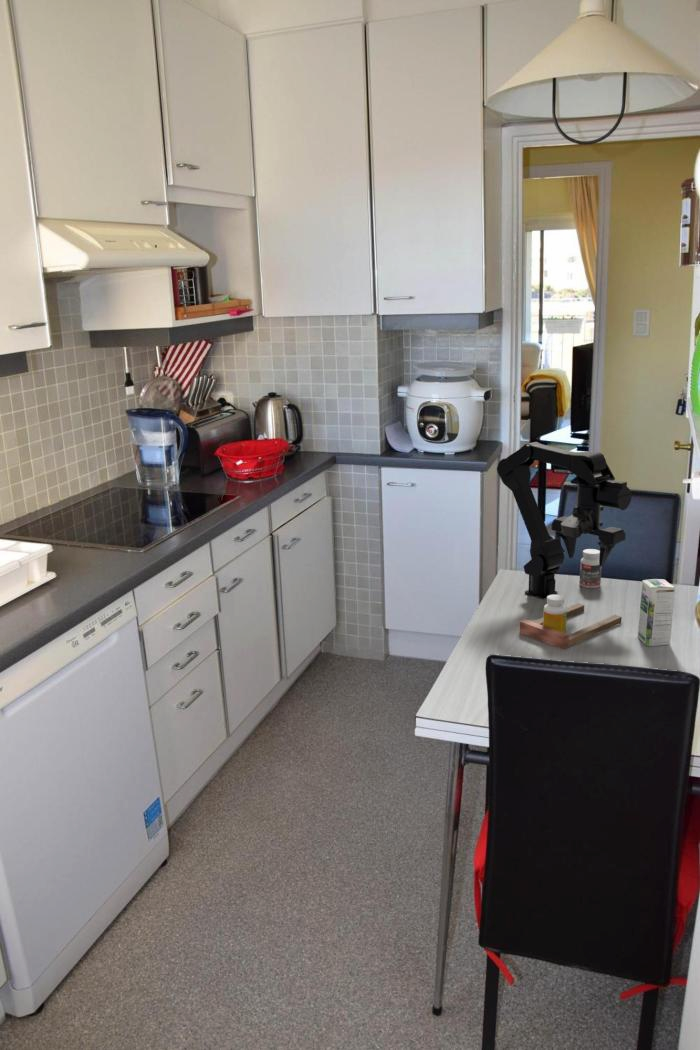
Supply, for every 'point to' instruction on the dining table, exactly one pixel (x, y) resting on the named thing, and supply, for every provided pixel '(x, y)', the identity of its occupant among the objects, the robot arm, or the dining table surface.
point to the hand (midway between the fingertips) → (586, 561)
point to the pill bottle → (590, 569)
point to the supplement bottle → (555, 613)
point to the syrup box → (656, 612)
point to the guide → (562, 639)
